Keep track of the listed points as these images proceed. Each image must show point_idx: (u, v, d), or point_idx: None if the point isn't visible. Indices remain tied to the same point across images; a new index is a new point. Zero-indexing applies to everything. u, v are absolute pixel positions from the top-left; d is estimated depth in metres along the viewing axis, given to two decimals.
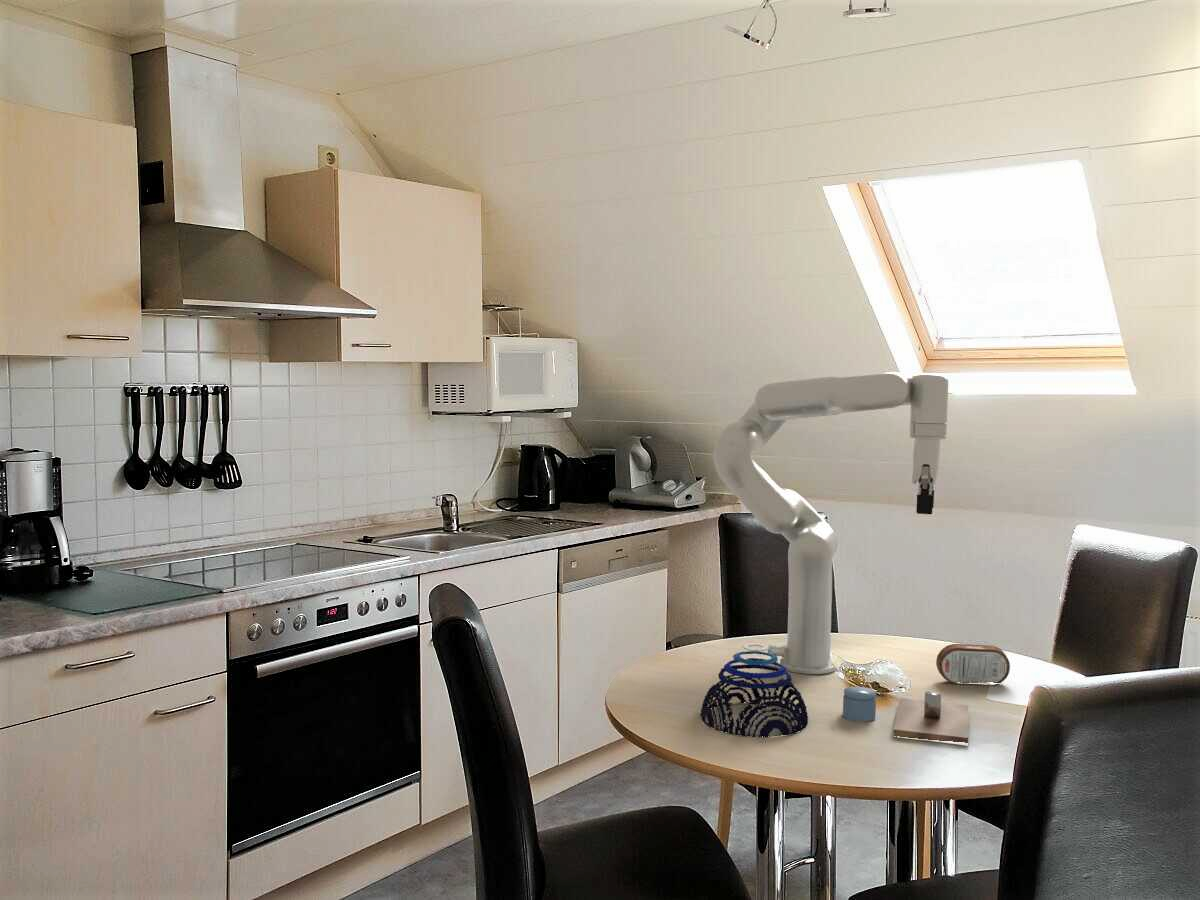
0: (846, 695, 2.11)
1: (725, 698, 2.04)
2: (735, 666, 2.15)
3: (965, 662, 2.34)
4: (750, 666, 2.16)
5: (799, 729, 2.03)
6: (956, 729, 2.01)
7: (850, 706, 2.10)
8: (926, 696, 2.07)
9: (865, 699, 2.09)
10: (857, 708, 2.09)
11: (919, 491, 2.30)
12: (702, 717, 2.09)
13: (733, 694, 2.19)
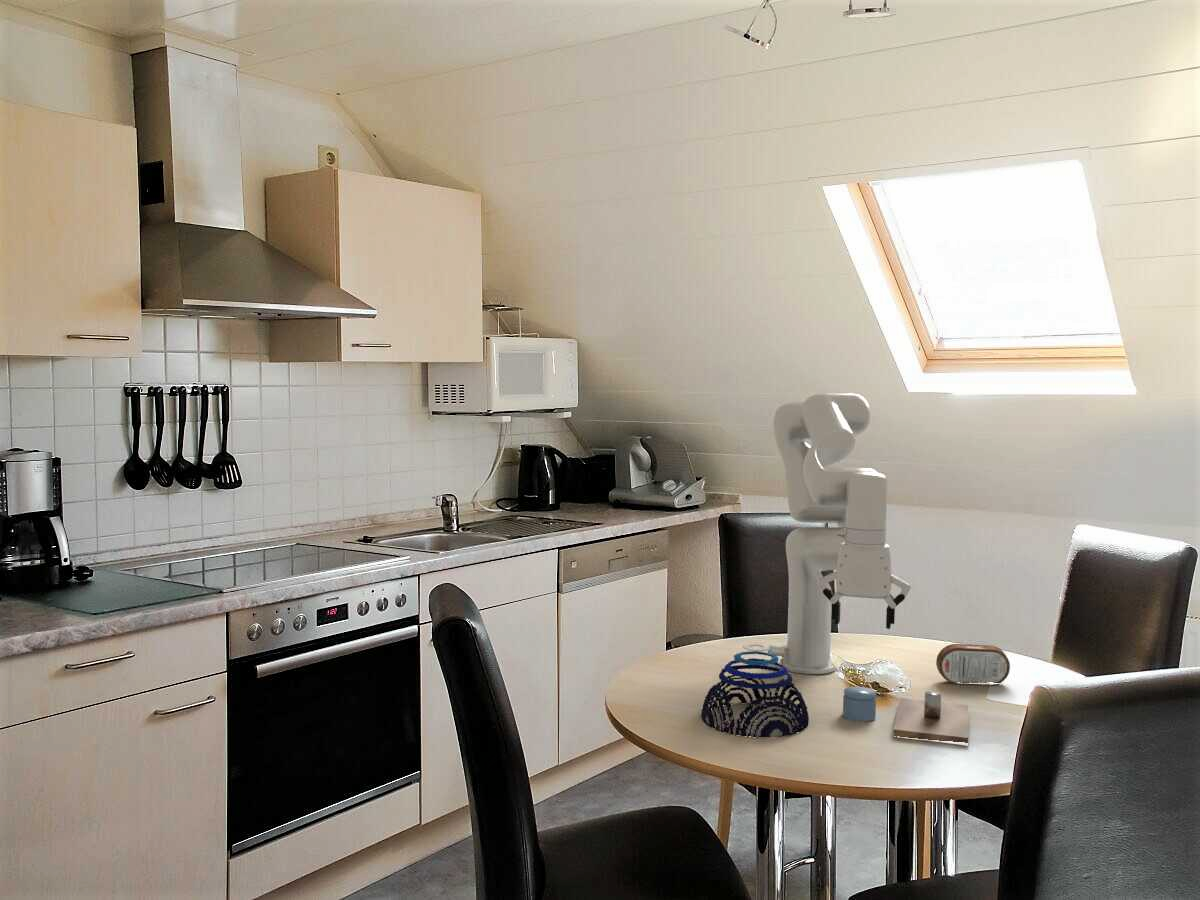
0: (846, 695, 2.11)
1: (726, 698, 2.04)
2: (736, 666, 2.15)
3: (965, 662, 2.34)
4: (751, 666, 2.15)
5: (800, 729, 2.03)
6: (956, 729, 2.01)
7: (850, 706, 2.10)
8: (926, 696, 2.07)
9: (865, 699, 2.09)
10: (857, 708, 2.09)
11: (895, 604, 2.08)
12: (703, 717, 2.09)
13: (734, 695, 2.19)
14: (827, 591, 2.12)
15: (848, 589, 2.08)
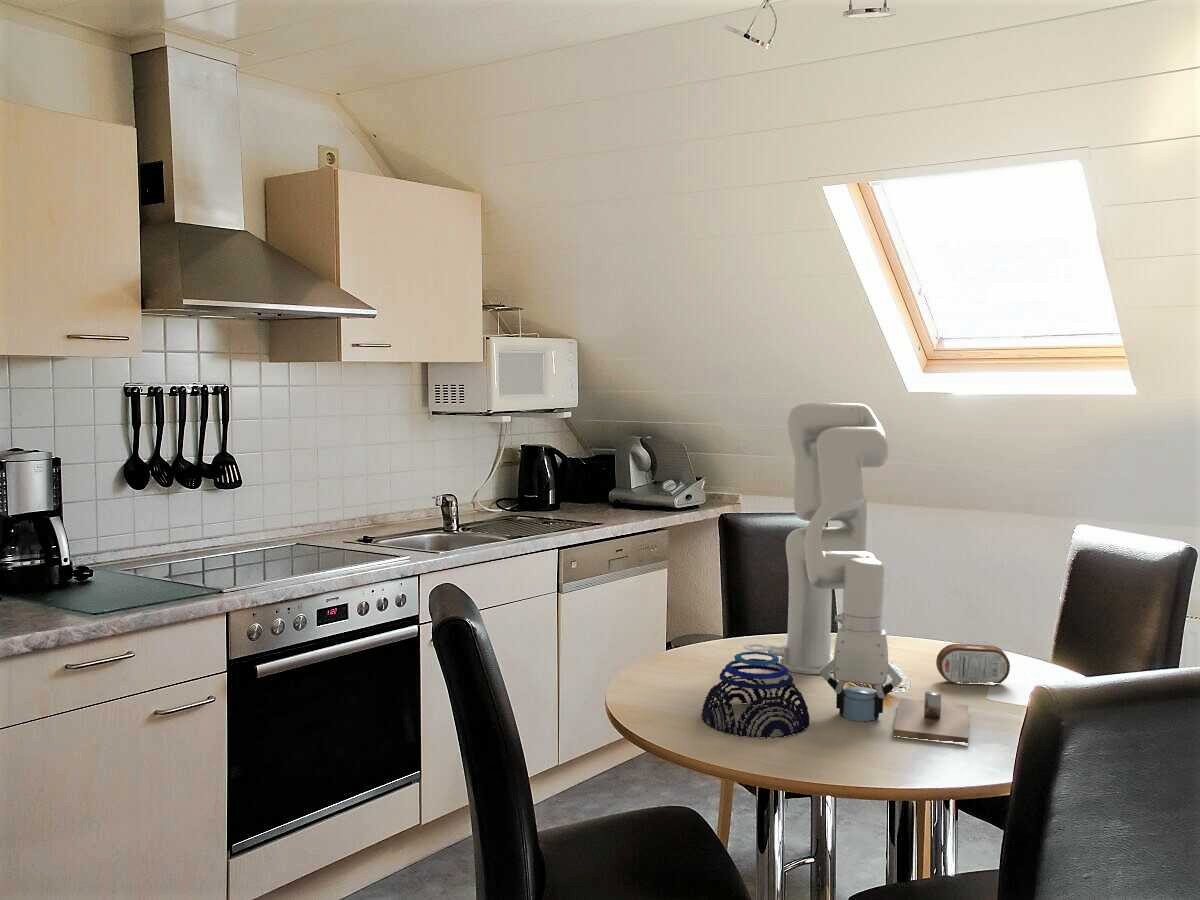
0: (846, 695, 2.11)
1: (726, 699, 2.04)
2: (736, 667, 2.15)
3: (965, 662, 2.34)
4: (751, 667, 2.15)
5: (800, 730, 2.03)
6: (956, 729, 2.01)
7: (850, 706, 2.10)
8: (926, 696, 2.07)
9: (865, 699, 2.09)
10: (857, 708, 2.09)
11: (884, 695, 2.10)
12: (703, 718, 2.09)
13: (734, 695, 2.19)
14: (832, 681, 2.13)
15: (845, 675, 2.10)
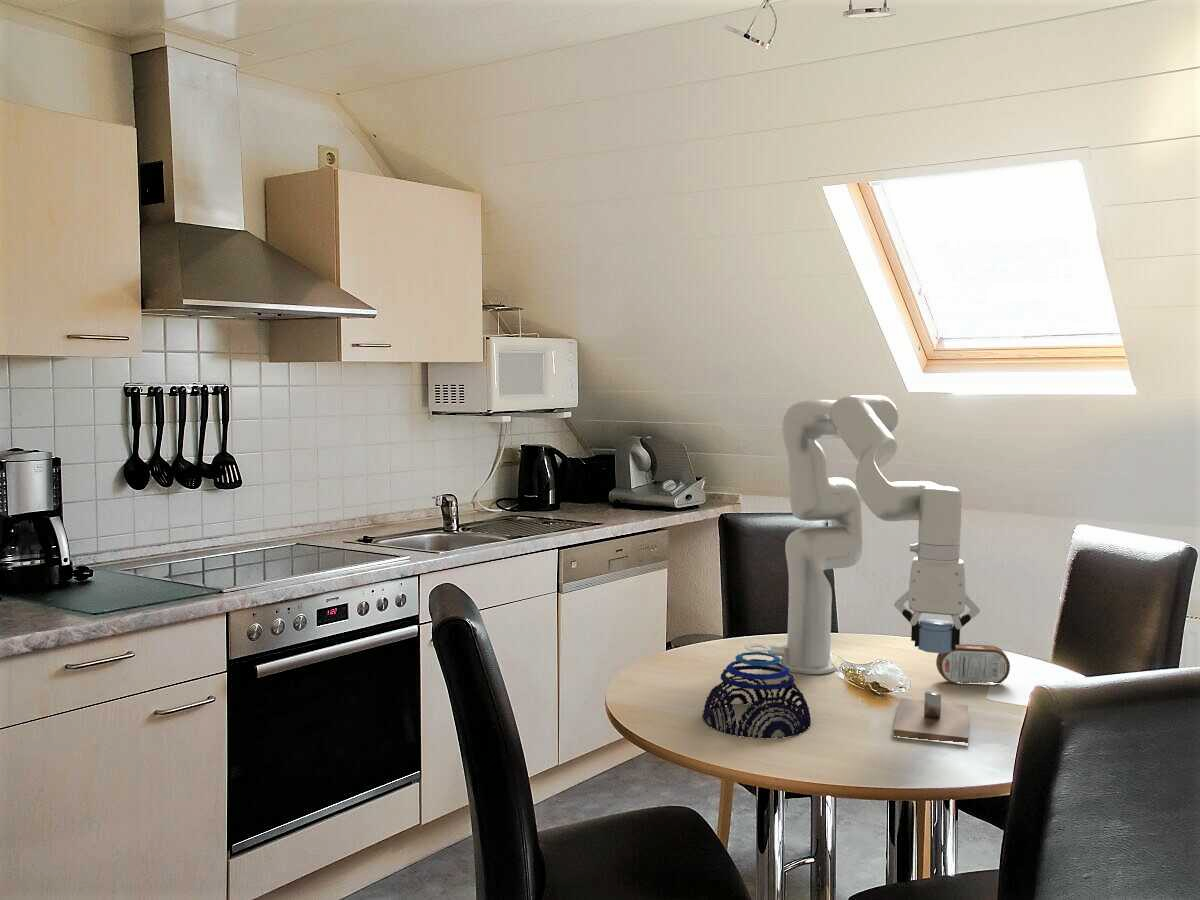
0: (922, 627, 2.06)
1: (727, 699, 2.04)
2: (737, 667, 2.14)
3: (965, 662, 2.34)
4: (752, 667, 2.15)
5: (802, 730, 2.03)
6: (956, 729, 2.01)
7: (926, 637, 2.05)
8: (926, 696, 2.07)
9: (942, 630, 2.04)
10: (934, 639, 2.04)
11: (961, 625, 2.04)
12: (704, 718, 2.08)
13: (736, 695, 2.18)
14: (907, 612, 2.07)
15: (921, 605, 2.04)
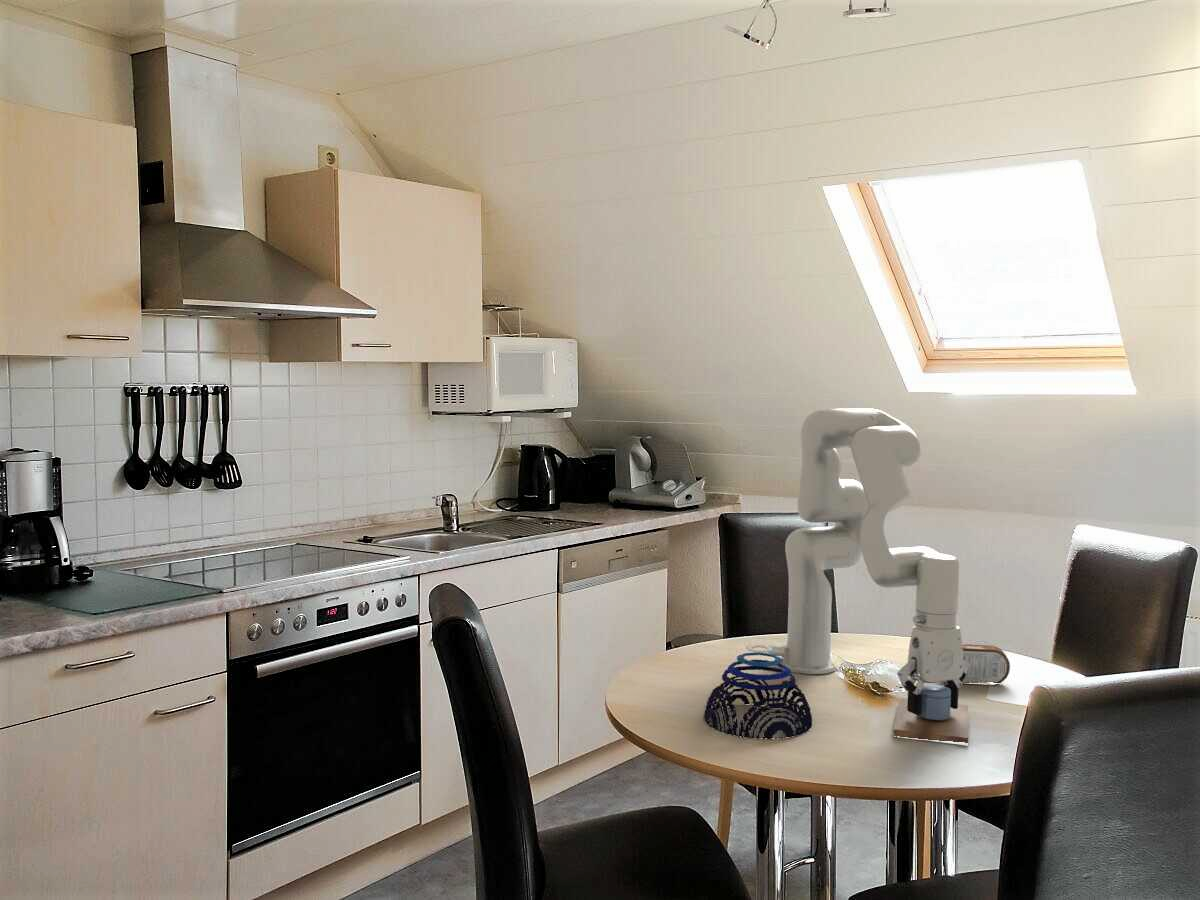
0: (931, 696, 2.05)
1: (729, 700, 2.03)
2: (739, 667, 2.14)
3: None
4: (754, 667, 2.15)
5: (803, 731, 2.02)
6: (956, 729, 2.01)
7: (938, 706, 2.05)
8: None
9: (949, 695, 2.06)
10: (944, 706, 2.05)
11: None
12: (706, 719, 2.08)
13: (737, 696, 2.18)
14: (910, 683, 2.04)
15: (934, 676, 2.04)
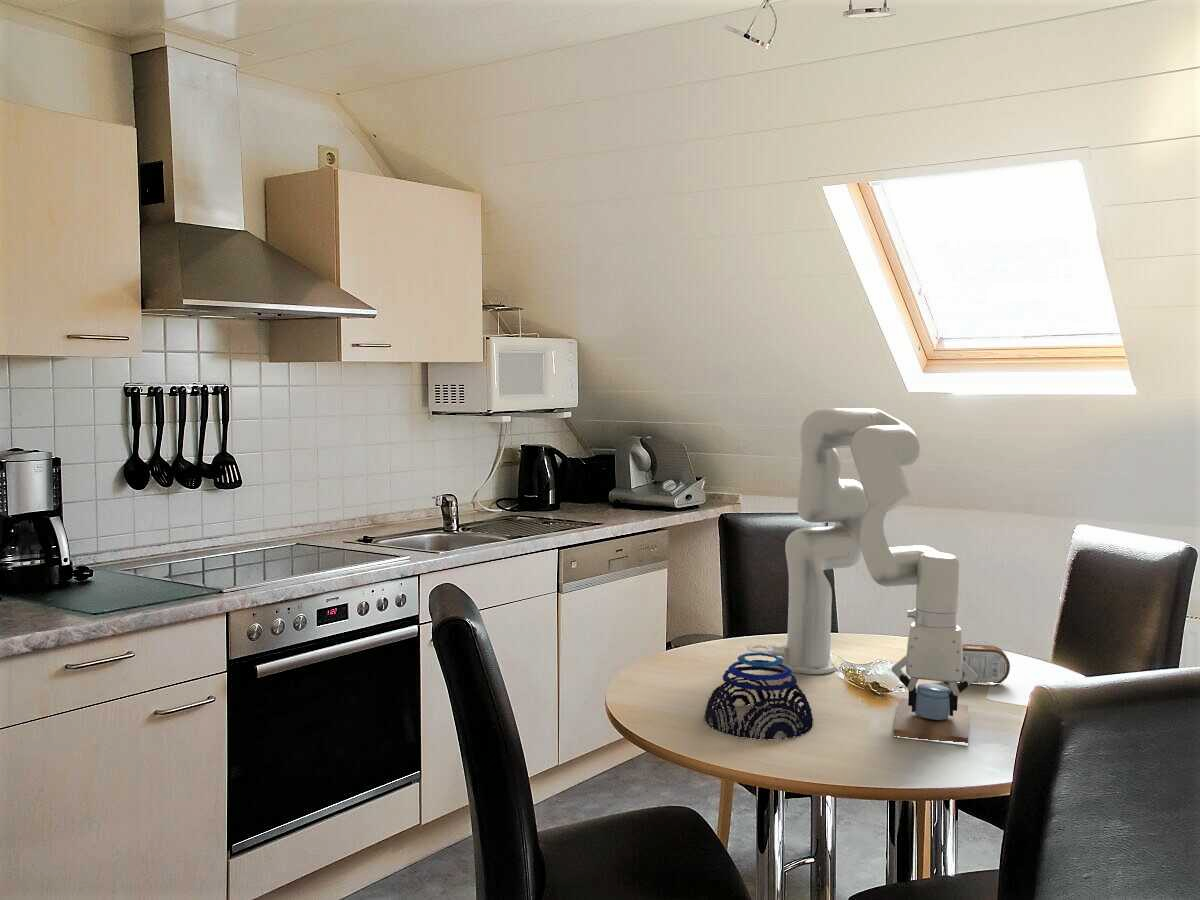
0: (931, 695, 2.05)
1: (730, 700, 2.03)
2: (740, 668, 2.14)
3: (965, 662, 2.34)
4: (755, 668, 2.15)
5: (804, 731, 2.02)
6: (956, 729, 2.01)
7: (937, 706, 2.05)
8: None
9: (949, 695, 2.06)
10: (943, 706, 2.05)
11: (959, 692, 2.05)
12: (706, 719, 2.08)
13: (738, 696, 2.18)
14: (904, 678, 2.08)
15: (919, 672, 2.06)
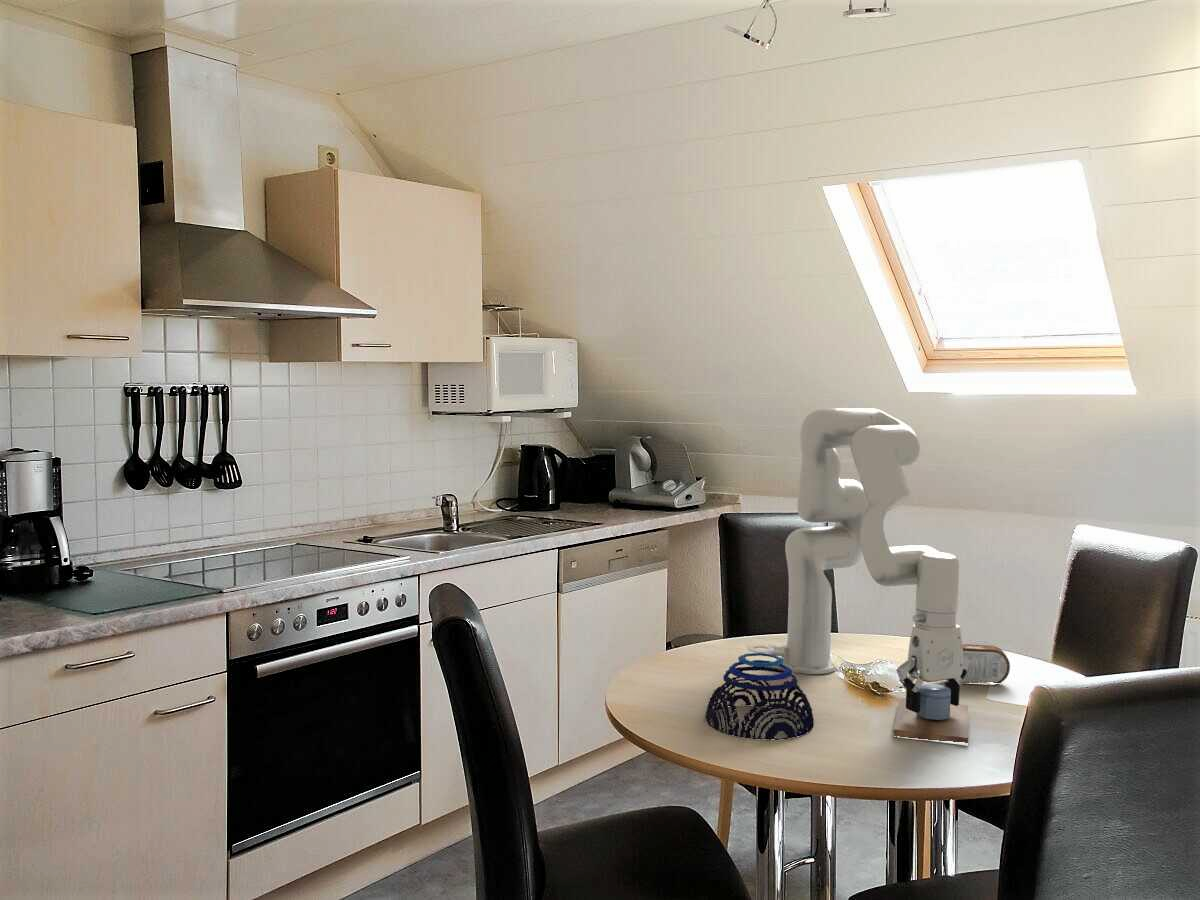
0: (943, 696, 2.05)
1: (730, 700, 2.03)
2: (740, 668, 2.14)
3: None
4: (755, 668, 2.14)
5: (805, 732, 2.02)
6: (956, 729, 2.01)
7: (948, 704, 2.06)
8: None
9: None
10: None
11: None
12: (707, 719, 2.08)
13: (738, 697, 2.18)
14: (909, 680, 2.04)
15: (934, 675, 2.04)
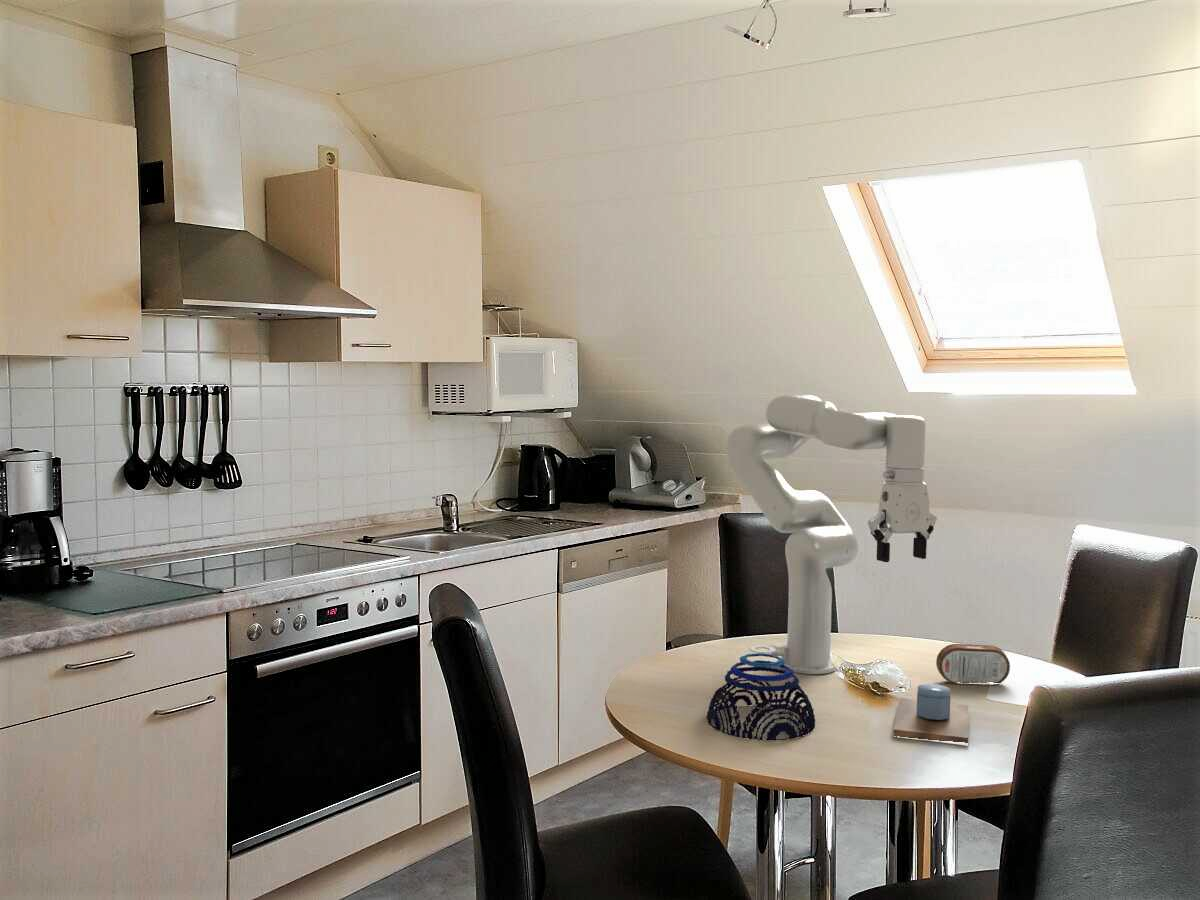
0: (943, 696, 2.05)
1: (732, 701, 2.03)
2: (741, 668, 2.13)
3: (965, 662, 2.34)
4: (756, 668, 2.14)
5: (806, 732, 2.02)
6: (956, 729, 2.01)
7: (948, 704, 2.06)
8: None
9: None
10: None
11: None
12: (708, 720, 2.07)
13: (739, 697, 2.17)
14: (879, 531, 2.20)
15: (902, 526, 2.20)
